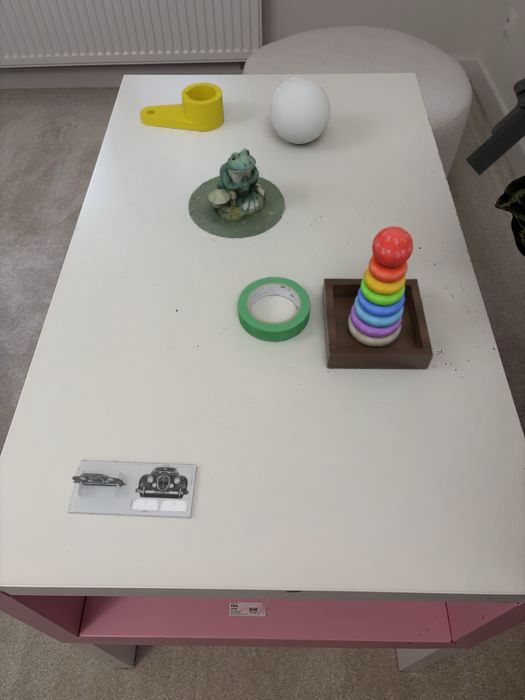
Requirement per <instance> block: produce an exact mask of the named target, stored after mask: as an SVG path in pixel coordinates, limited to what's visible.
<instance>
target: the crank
mask: <svg viewBox="0 0 525 700" xmlns="http://www.w3.org/2000/svg"><path fill="white" fill-rule="evenodd" d="M181 101H182V103H174V104H173V103H172V104H161V105H160V104H159V105H158V104H157V105H148V106H145V107H143V108H142V109H140V111H139V115H140V120H141V124H143V125H145V126H150V127H159V128H167V129H168V128H169V129H177V130H183V131H184V130H185V131H186V130H187V131H193V132H194V131H195V132H210V131H214V130H217V129H219V128H220V127H222V125H223V124H224V122H225V115H224V101H223V91H222V88H221V87H220V86H218V85H217V84H214V83H210V82H195V83H192V84H190V85H187V86H186V87H184V88H183V89H182V90H181Z"/></svg>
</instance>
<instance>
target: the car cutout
mask: <svg viewBox="0 0 525 700" xmlns="http://www.w3.org/2000/svg"><path fill="white" fill-rule="evenodd" d="M79 462H80V463H79V466H78V471H77V473H76V474H77V475H74V476H72V477H71V479H72V480H73V481H72V482H73V484H74V486H73V490H72V494H71V497H70V502H69V505H68V509H67V513H68V514H78V515H79V514H80V515H99V516H100V515H104V516H125V517H126V516H127V517H129V516H130V517H149V518H150V517H151V518H171V519H172V518H173V519H174V518H176V519H191V518H192V509H193V501H194V494H195V486H196V478H197V469H198V466H197V464H179V463H178V464H177V463H152V462H150V463H149V462H129V461H128V462H126V461H125V462H124V461H104V460H103V461H100V460H80V461H79Z"/></svg>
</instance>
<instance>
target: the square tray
mask: <svg viewBox="0 0 525 700" xmlns="http://www.w3.org/2000/svg"><path fill="white" fill-rule="evenodd" d="M362 279H363V278H324V279H323V285H322V294H321V295H322V309H323V324H324V341H325V355H326V356H325V357H326V369H327V370H328V369H331V370H332V369H334V370H335V369H338V370H339V369H340V370H342V369H343V370H348V369H350V370H358V369H359V370H428V368H429V365H430V363H431V361H432V359H433V357H434V352H433V348H432V344H431V338H430V334H429V328H428V324H427V319H426V315H425V314H426V313H425V309H424V306H423V305H424V304H423V299H422V295H421V291H420V286H419V281H418V279H417V278H406V281H405V292H404V296H405V301H404V305H403V306H404V309H403V314H402V322H401V331H400V334H399V335H398V337H397V338H396V339H395V340H394V341H393V342H392V343H390V344H388V345H384V346H378V347H374V346H368V345H365V344H363V343H361V342H359V341H358V340H357V339H355V338H354V337H353V335H352V334H351V333H350V331H349V328H348V317H349V315H350V313H351V308H352V306H353V304H354V303H355V299H356V297H357V295H358V291H359V289H360V287H361V281H362Z"/></svg>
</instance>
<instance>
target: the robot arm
mask: <svg viewBox="0 0 525 700" xmlns="http://www.w3.org/2000/svg"><path fill="white" fill-rule="evenodd" d="M512 89H513V91H514V94H515V97H516V99H517V103H516V105H515V106H514V107H513V108H512V109H511V110H510V111H509V112H508V113H507V114H506V115H505V116H504V117H503V118H502V119H501V120H500V121H499V122H497V123H496V124H495V125H494V126H493V127H492V129H491V130H490V133H491V136H489V138H486V140H485V141H484V142H483V143H482V144H481V145H480V146H479V147H477V148H476V149H475V150H474V151H473V152H472V153H471V154H470V155H468V157H466V159H465V161H466V162H467V164H469V166H470V167H471V168H472V169H473V170H474V172H475V173H477V175H478V177H479V176H481V175H482V174H483V173H484V172H486V171H487V170H488V169H489V168H490V167H491V166H492V165H494V163H496V162H497V161H498V160H499V159H500V158H501V157H503V156H504V155H505V154H506V153H507V152H508V151H509V150H510V149H512V148H513V147H514V146H515V145H516V144H517V143H519V142H520V141H521V140H522V139H523V138H524V137H525V77H524V78H522V79H520V80H518V81H516V82H515V83H514V84H513V87H512Z"/></svg>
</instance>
